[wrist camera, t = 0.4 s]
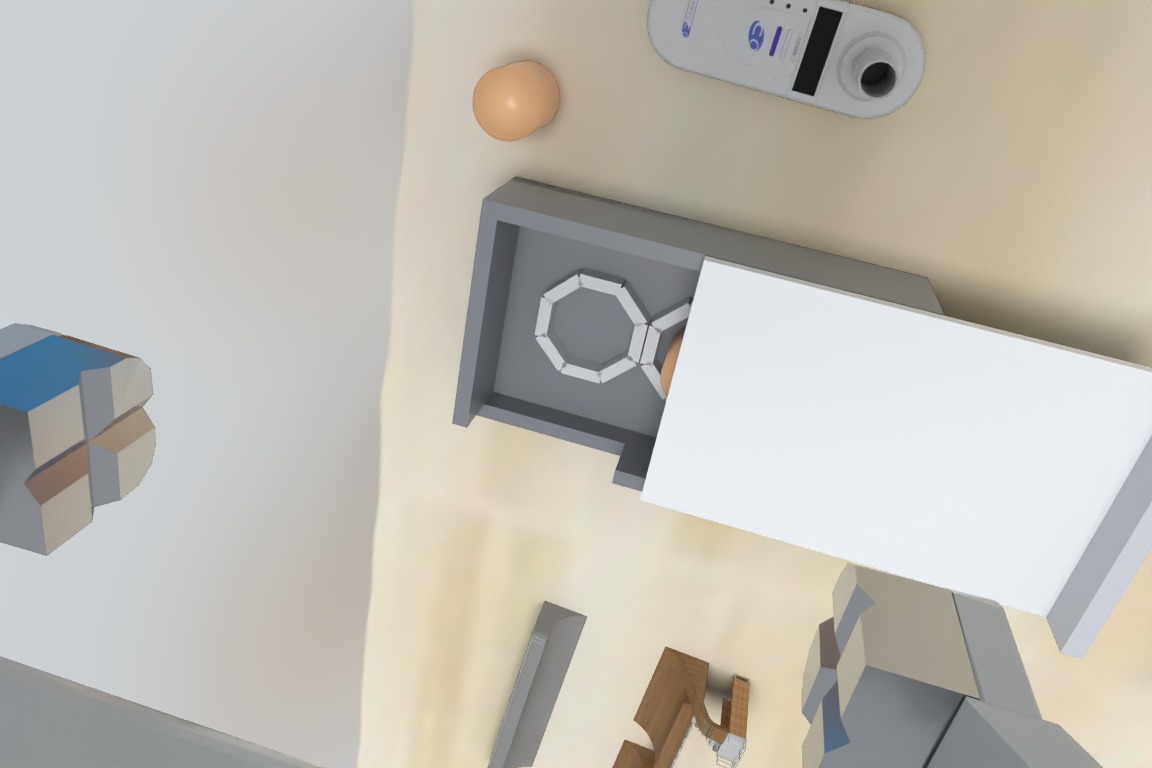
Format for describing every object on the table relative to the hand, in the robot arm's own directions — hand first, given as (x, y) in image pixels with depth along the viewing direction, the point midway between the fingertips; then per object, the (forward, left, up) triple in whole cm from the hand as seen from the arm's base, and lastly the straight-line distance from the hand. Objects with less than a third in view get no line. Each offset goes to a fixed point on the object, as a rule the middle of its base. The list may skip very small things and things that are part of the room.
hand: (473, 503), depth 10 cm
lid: (+16, +14, -38) cm, 44 cm away
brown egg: (+3, -12, -45) cm, 46 cm away
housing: (+16, +1, -45) cm, 47 cm away
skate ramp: (+51, +8, -45) cm, 69 cm away
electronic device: (-3, +2, -45) cm, 45 cm away
